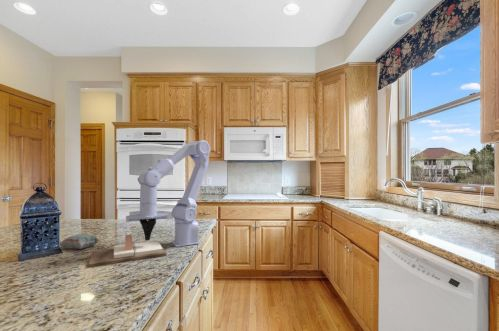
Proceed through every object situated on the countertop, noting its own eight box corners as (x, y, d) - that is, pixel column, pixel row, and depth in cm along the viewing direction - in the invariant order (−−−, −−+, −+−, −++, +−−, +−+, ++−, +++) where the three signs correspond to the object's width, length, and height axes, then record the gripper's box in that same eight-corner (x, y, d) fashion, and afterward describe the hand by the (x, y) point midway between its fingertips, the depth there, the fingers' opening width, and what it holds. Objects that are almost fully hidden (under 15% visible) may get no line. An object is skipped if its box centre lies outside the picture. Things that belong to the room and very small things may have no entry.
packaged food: (81, 252, 89) (82, 239, 89) (54, 250, 91) (55, 237, 91) (100, 245, 97) (100, 233, 97) (75, 244, 99) (75, 231, 100)
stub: (132, 246, 92) (132, 232, 92) (134, 255, 82) (134, 239, 83) (114, 248, 89) (114, 234, 89) (113, 258, 80) (114, 242, 80)
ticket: (157, 243, 97) (158, 240, 97) (162, 252, 87) (162, 248, 87) (132, 247, 92) (133, 243, 92) (134, 256, 83) (135, 252, 83)
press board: (159, 245, 98) (160, 242, 98) (166, 255, 86) (166, 252, 86) (92, 253, 87) (92, 250, 87) (88, 267, 75) (88, 264, 75)
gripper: (126, 205, 83) (125, 245, 83) (170, 203, 90) (169, 240, 90) (126, 202, 89) (125, 240, 89) (167, 201, 96) (166, 235, 96)
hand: (147, 239), depth 90 cm, fingers closed
